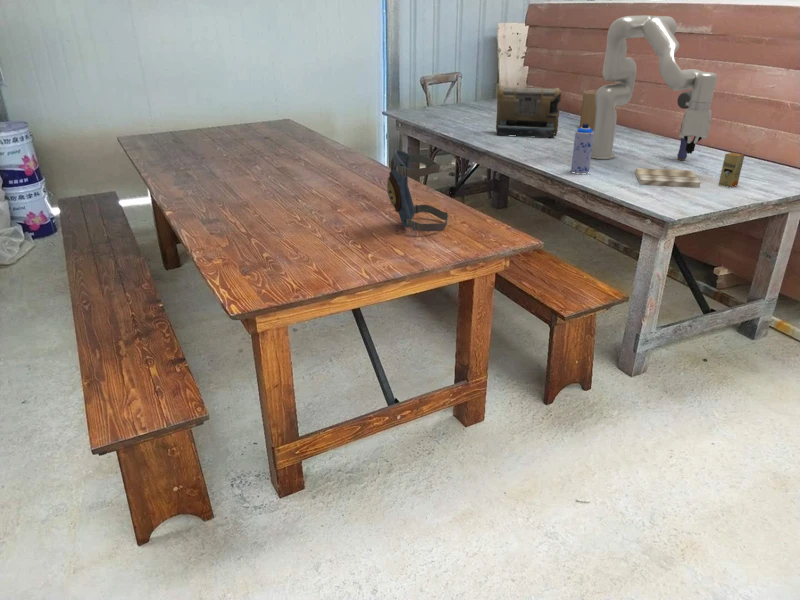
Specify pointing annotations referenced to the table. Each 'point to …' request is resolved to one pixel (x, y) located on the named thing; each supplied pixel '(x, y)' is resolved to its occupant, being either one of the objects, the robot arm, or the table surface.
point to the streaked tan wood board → (669, 180)
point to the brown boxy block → (527, 111)
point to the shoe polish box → (731, 169)
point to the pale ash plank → (664, 172)
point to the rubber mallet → (681, 102)
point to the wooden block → (588, 109)
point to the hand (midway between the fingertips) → (689, 152)
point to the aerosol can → (582, 149)
